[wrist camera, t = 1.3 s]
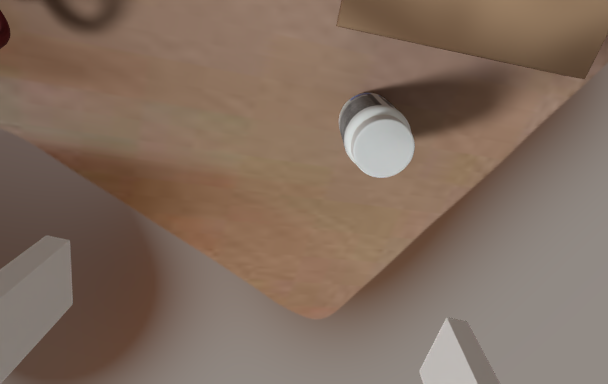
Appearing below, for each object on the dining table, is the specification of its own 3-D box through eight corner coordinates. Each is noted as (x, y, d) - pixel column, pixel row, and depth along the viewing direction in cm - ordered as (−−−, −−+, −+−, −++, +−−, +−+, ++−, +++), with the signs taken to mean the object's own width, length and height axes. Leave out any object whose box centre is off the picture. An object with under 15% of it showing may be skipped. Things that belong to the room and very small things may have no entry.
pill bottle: (334, 143, 31) (341, 179, 24) (343, 88, 29) (353, 108, 22) (387, 149, 32) (411, 187, 24) (399, 95, 30) (429, 118, 22)
